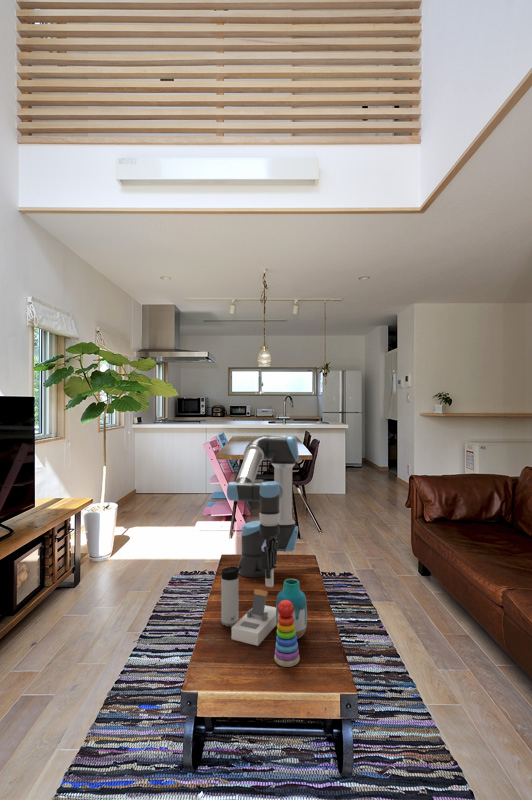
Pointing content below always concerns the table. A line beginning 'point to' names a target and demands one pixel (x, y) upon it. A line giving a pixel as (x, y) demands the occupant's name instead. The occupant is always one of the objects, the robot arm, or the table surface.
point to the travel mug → (229, 596)
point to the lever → (259, 603)
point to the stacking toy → (286, 636)
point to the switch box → (254, 626)
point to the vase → (294, 605)
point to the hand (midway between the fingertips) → (269, 585)
